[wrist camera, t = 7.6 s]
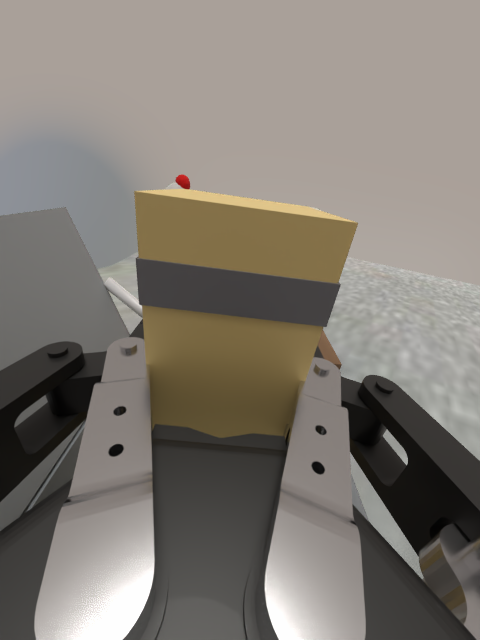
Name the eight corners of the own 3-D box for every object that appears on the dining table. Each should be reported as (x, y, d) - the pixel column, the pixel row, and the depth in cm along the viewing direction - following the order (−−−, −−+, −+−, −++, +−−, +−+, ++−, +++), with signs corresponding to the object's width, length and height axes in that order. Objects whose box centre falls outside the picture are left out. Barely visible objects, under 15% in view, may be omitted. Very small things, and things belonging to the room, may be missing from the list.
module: (255, 428, 16) (308, 206, 10) (260, 518, 12) (361, 223, 5) (178, 421, 16) (181, 188, 9) (154, 511, 11) (130, 191, 5)
